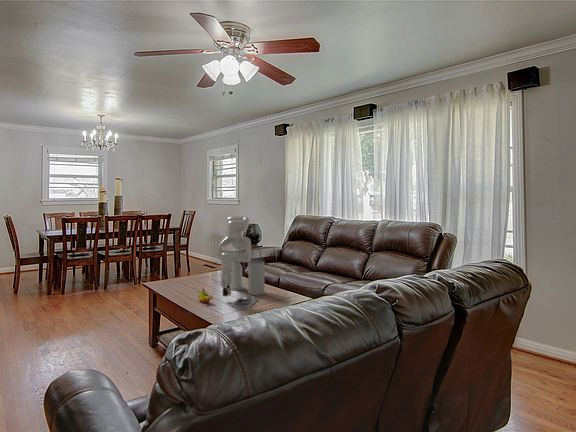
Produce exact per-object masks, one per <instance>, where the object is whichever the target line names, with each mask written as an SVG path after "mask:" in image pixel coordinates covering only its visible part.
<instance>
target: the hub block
mask: <svg viewBox="0 0 576 432" xmlns="http://www.w3.org/2000/svg"><path fill="white" fill-rule="evenodd" d="M227 290H228V295H227V296H226V297H230V296H232V290H231V288H227ZM222 297H225V296H224V295H223V294H222Z"/></svg>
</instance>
